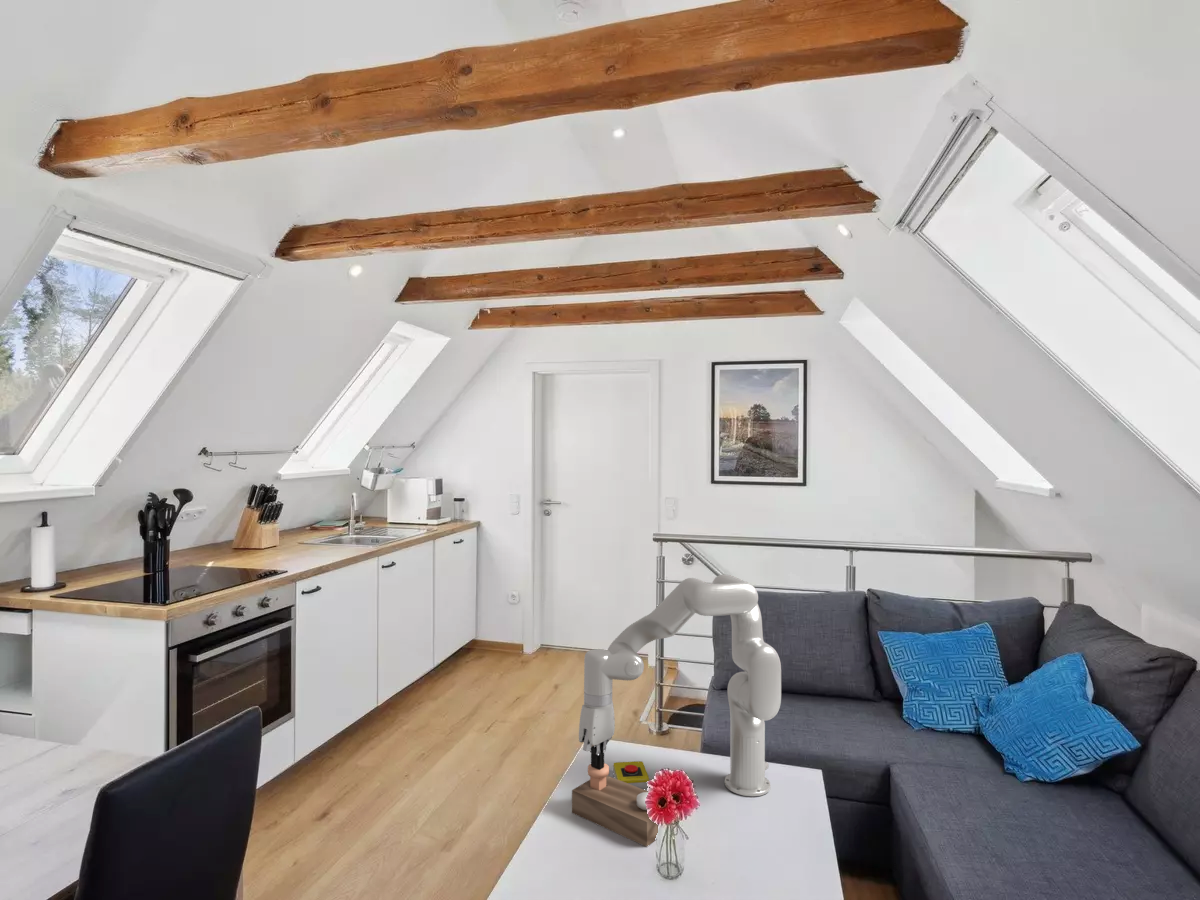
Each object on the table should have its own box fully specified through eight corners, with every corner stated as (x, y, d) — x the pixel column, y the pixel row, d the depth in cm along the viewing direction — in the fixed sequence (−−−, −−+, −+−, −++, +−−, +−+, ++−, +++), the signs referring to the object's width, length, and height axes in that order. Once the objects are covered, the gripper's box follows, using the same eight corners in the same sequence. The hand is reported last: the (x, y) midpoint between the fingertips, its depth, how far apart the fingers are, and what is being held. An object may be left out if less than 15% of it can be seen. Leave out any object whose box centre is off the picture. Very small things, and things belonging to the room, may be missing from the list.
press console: (600, 794, 186) (600, 772, 186) (674, 825, 171) (674, 801, 171) (571, 812, 177) (571, 789, 177) (647, 847, 162) (647, 822, 162)
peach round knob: (596, 788, 183) (596, 760, 183) (613, 795, 179) (613, 766, 179) (583, 796, 179) (583, 767, 179) (599, 803, 175) (599, 774, 175)
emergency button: (618, 779, 187) (611, 755, 202) (618, 795, 187) (611, 769, 202) (651, 777, 188) (642, 753, 203) (651, 793, 188) (642, 768, 203)
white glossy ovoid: (645, 819, 173) (645, 789, 173) (663, 827, 169) (663, 797, 169) (632, 829, 169) (632, 798, 169) (650, 837, 165) (650, 806, 165)
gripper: (604, 687, 187) (604, 753, 187) (568, 702, 176) (568, 773, 176) (626, 693, 182) (625, 761, 182) (590, 709, 171) (590, 782, 171)
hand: (597, 767), depth 179 cm, fingers closed
